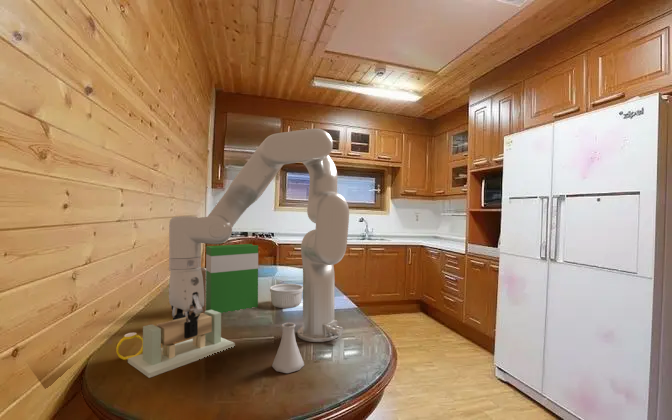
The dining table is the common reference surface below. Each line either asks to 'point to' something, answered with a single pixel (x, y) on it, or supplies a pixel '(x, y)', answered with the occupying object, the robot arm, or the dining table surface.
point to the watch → (129, 336)
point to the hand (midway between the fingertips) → (185, 333)
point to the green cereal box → (231, 277)
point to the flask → (288, 351)
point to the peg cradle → (178, 348)
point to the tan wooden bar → (182, 329)
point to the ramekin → (286, 295)
